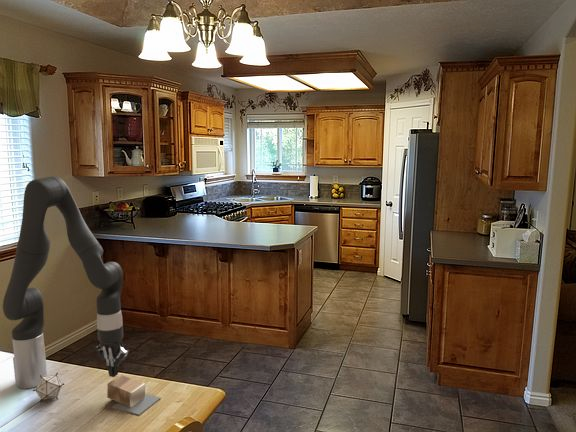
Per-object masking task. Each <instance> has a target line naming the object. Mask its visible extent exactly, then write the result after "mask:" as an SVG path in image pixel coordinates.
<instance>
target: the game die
mask: <svg viewBox="0 0 576 432" xmlns="http://www.w3.org/2000/svg"><path fill="white" fill-rule="evenodd" d="M58 374H59V373H58V372H56V373H55V374H51V375H47V376H44V377H42V376H41V375H40V377H41V379H40V381H39V383H38V385H37V386H36V387H35V389H32V392H36V394H37V396H38V397H39V399H40V400H39V403H41V402H42V401H44V400H50V399H56V400H59V397H58V396H59V393H60V391H61V389H62V386H64V385H65V383H64V382H63V383H62V381H61V380H60V378H59V376H58Z"/></svg>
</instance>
